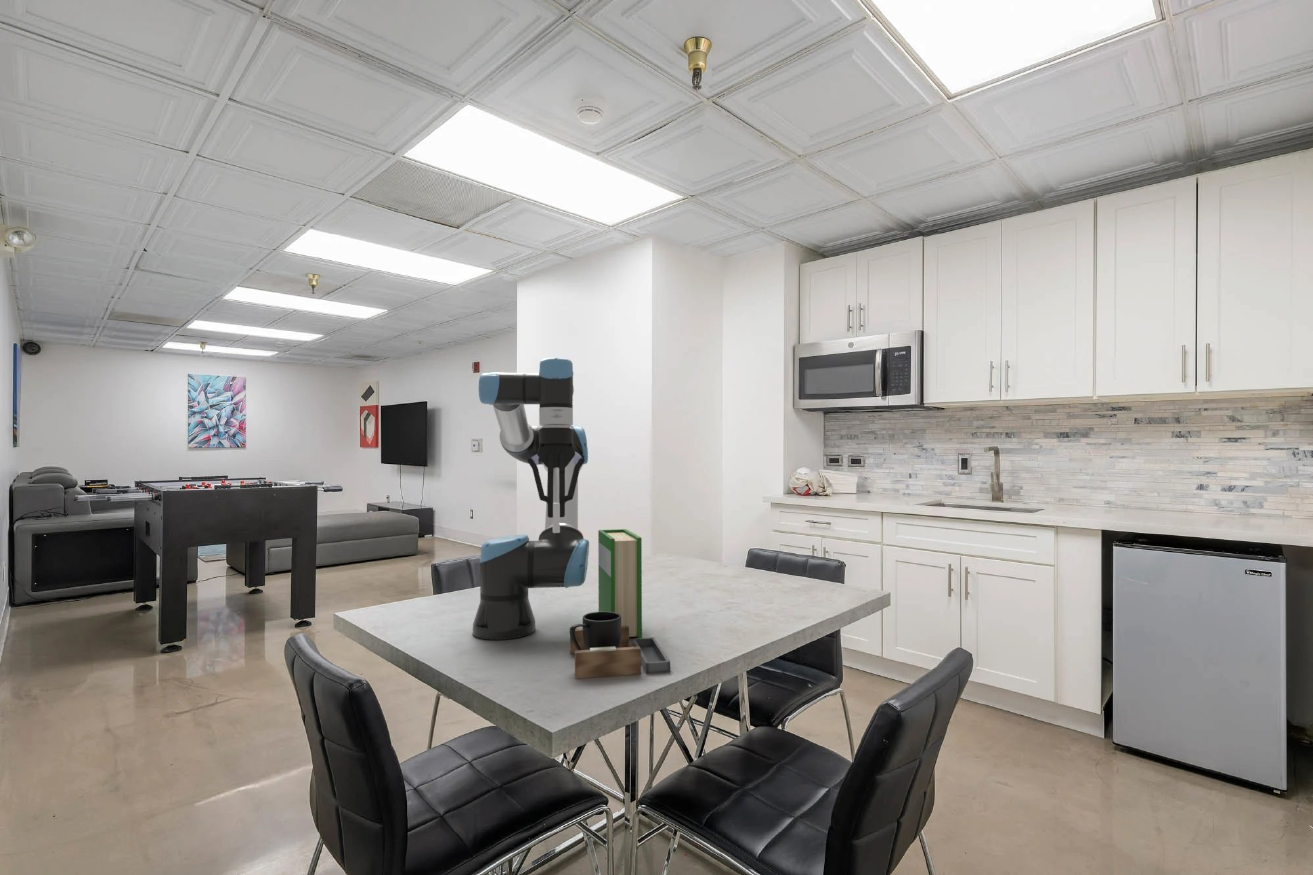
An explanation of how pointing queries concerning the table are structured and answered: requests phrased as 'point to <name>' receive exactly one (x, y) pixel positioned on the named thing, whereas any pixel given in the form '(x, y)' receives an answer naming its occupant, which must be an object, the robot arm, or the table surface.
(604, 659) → the lane walls
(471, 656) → the table surface
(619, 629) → the mug
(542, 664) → the table surface
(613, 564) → the hardback book
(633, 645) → the tray
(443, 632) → the table surface
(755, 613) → the table surface
